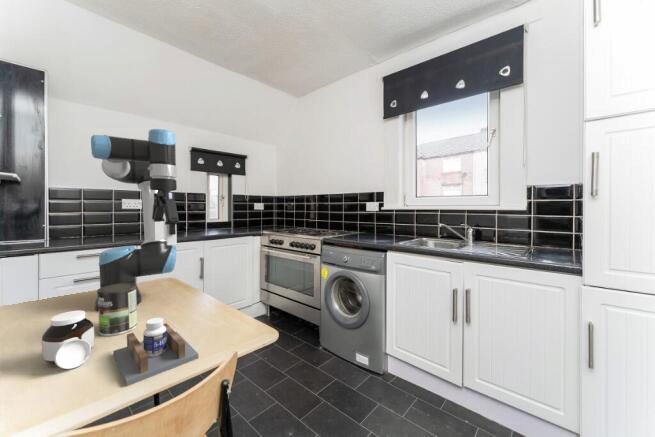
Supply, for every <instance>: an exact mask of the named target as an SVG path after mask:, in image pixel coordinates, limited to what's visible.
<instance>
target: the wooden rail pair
mask: <svg viewBox="0 0 655 437" xmlns="http://www.w3.org/2000/svg"><path fill="white" fill-rule="evenodd" d="M163 326H165V327H166V344H167V345H168V346H169V347H170V349H171V350H172V351H173V352H174V353H175V355H176V356H177V357H178V358H179V359H181V358H183V357H185V342H184V341H183V340H182V339H181V338H180V337H179V336H178V335H177V333H176V331H175V330H174V329H173V328H172V327H171V326H170V324H168V323H167V322H165V323H163ZM126 347H127V349H128V350H129V352H130V354H131V356H132V358H133V360H134V362H135V363H136V365H137V367H138V369H139V371H140V373H143V372H146V371H148V355H147V353H146V352H145V350H144V348H143V347H142V345H141V344H140V341H139V340H138V338H137V336H136V335H135V333H134V332H131V333H126Z"/></svg>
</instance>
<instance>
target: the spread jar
mask: <svg viewBox="0 0 655 437" xmlns="http://www.w3.org/2000/svg"><path fill="white" fill-rule="evenodd" d="M49 321H50V326H49V327H48V328H47V329H46V330H45V332H43V334H42V338H41V354H42V358H43V360H44V361H46V362H47V363H49V364H53V365H56V366H57V367H58V368H61V369H65V370H71V369H75V368H78V367H79V366H81V365H84V363H85V362H86V361H87V360H88V359H89V357H90V355H91V352H92V349H93V346H94V344H95V326H94V323H93V322H92V321H91V320H90V319H88V318H86V312H85V311H84V310H71V311H65V312H61V313H59V314H56V315H53V316H52V317H51V318H50V320H49Z"/></svg>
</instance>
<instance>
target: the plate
mask: <svg viewBox="0 0 655 437" xmlns="http://www.w3.org/2000/svg"><path fill="white" fill-rule="evenodd" d="M175 332H176V333H177V335H178V336H179V337H180V338H181V339H182V340H183V341H184V342H185V357H183V358H181V359H179V358H178V357H177V356H176V355H175V353H174V352H173V351H172V350H171V349H170V347H169V346H168V345H167V344H166V351H165V352H164V353H162V354H160V355H158V356H154V357H148V371H146V372H143V373H140V371H139V369H138V367H137V365H136V363H135V362H134V360H133V358H132V356H131V354H130V352H129V350H128V349H127V346H125V347H121V348H118V349H115V350H112V352H113V353H112V354H113V357H114V360H115V362H116V365H117V367H118V369H119V371H120V374H121V376H122V379H123V381H124V383H125V385H126V387H129V386H131V385H133V384H136V383H139V382H141V381H143V380H146V379H148V378H151V377H154V376H156V375H159V374H161V373H164V372H167V371H169V370H172V369H174V368H176V367H179V366H182V365H185V364H188V363H189V362H192V361H195V360H197V359H199V353H198V352H197V351H196V349H195V348H193V347H192V345H190V344H189V343H188V341H187V340H185V338H184V337H182V335H181V334H180V333H179V332H178V331H175ZM139 342H140V341H139ZM140 344H141V345H142V347H143V348H144V341H142V342H140Z"/></svg>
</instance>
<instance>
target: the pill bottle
mask: <svg viewBox="0 0 655 437" xmlns="http://www.w3.org/2000/svg"><path fill="white" fill-rule="evenodd" d="M163 324H164V318H163V317H154V318H150V319H148V320H147V321H146V322H145V326H146V329H144V331H143V336H142V337H143V342H144V350H145V352H146V353H147V355H148V357H154V356H158V355H160V354H162V353H164V352H165V351H166V327H165V326H163Z"/></svg>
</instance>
